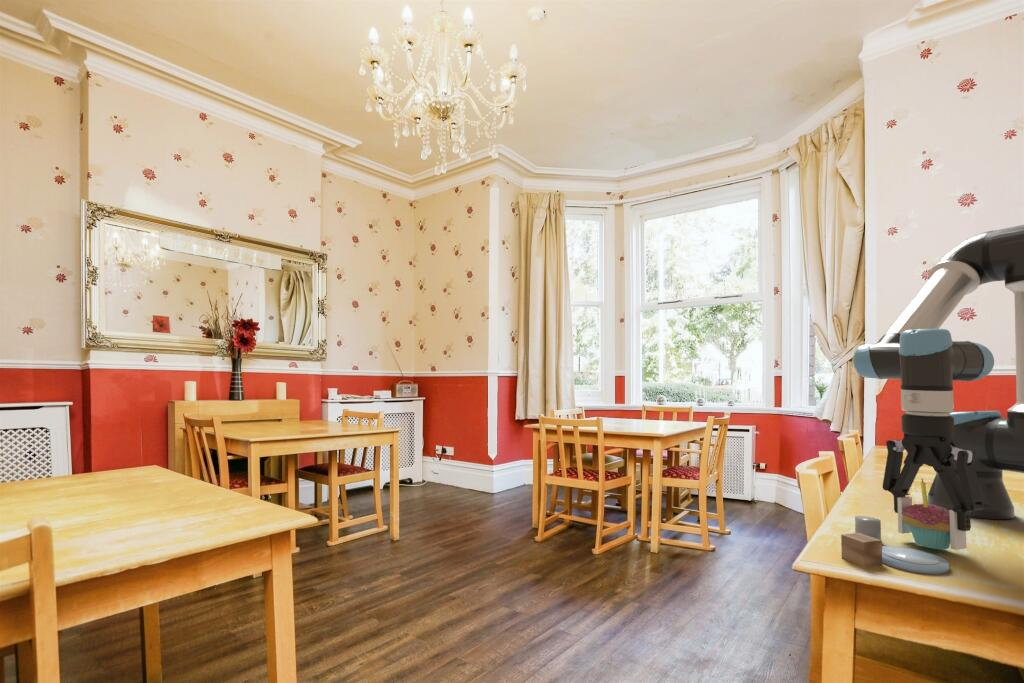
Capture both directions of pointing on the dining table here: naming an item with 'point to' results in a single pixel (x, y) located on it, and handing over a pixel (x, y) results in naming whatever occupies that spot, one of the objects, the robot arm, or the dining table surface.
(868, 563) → the walnut block
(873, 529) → the grey cylinder
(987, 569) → the dining table surface
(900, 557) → the saucer
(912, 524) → the cupcake
